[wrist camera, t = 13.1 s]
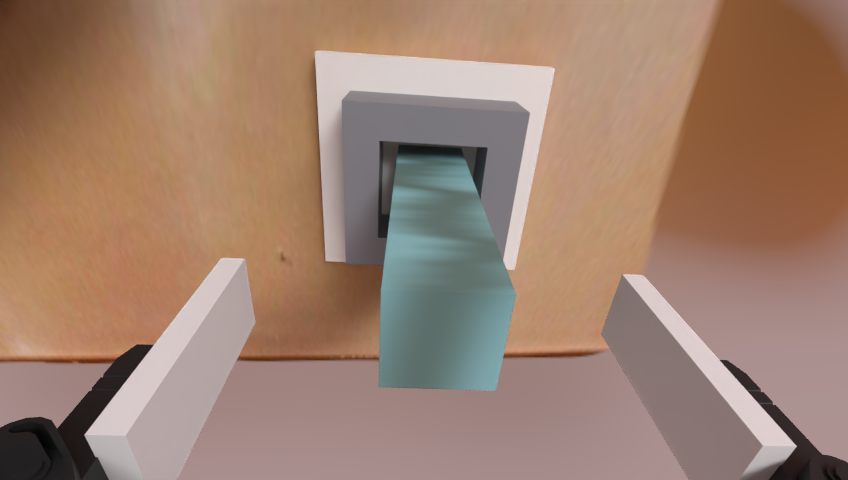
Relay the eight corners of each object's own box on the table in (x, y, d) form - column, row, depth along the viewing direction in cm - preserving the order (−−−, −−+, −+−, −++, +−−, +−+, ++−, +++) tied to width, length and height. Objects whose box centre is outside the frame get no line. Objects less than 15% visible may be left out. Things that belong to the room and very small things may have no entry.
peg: (396, 202, 28) (378, 387, 14) (398, 144, 26) (381, 289, 12) (454, 205, 28) (496, 390, 14) (461, 148, 26) (516, 294, 12)
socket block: (328, 254, 31) (315, 288, 27) (318, 50, 24) (299, 55, 20) (511, 262, 32) (525, 297, 28) (550, 66, 25) (575, 75, 21)
